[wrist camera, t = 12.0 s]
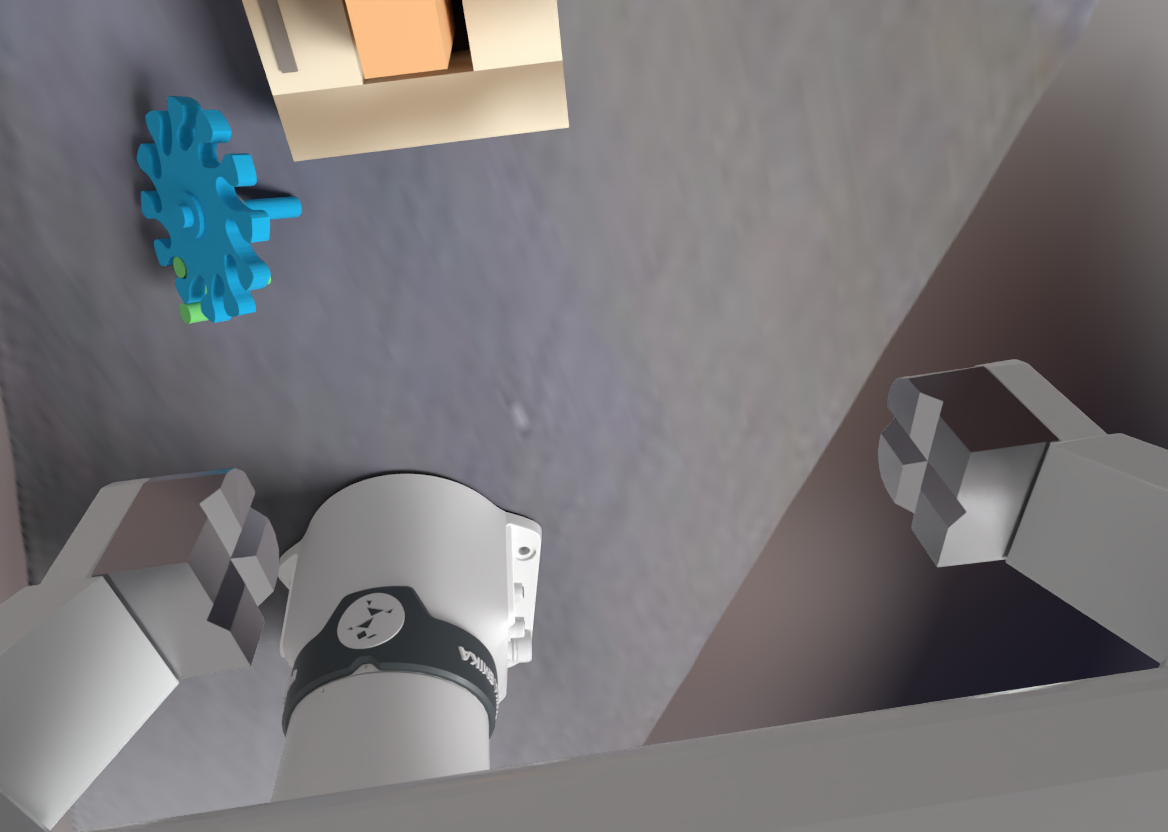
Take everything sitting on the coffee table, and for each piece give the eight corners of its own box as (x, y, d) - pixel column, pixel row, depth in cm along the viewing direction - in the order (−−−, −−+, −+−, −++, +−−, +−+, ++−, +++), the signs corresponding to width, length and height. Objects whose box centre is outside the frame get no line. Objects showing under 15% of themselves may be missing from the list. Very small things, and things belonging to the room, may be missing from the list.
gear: (130, 48, 32) (257, 188, 29) (259, 58, 36) (380, 181, 33) (117, 254, 38) (219, 384, 35) (227, 242, 43) (325, 356, 40)
